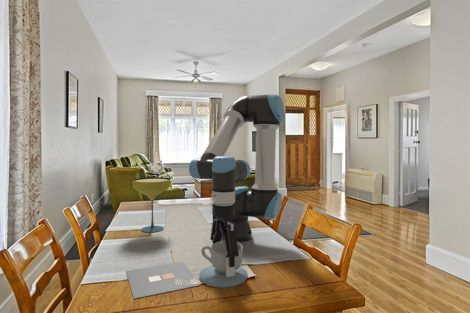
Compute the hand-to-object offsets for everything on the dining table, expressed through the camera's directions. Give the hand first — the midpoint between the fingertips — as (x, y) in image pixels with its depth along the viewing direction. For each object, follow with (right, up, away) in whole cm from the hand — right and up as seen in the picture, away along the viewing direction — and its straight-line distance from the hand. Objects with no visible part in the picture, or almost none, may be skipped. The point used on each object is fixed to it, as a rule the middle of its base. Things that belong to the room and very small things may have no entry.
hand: (223, 268), depth 104 cm
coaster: (0, -2, 0) cm, 3 cm away
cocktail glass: (-37, +1, +51) cm, 63 cm away
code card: (-20, -2, -2) cm, 20 cm away
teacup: (0, -1, +1) cm, 1 cm away
